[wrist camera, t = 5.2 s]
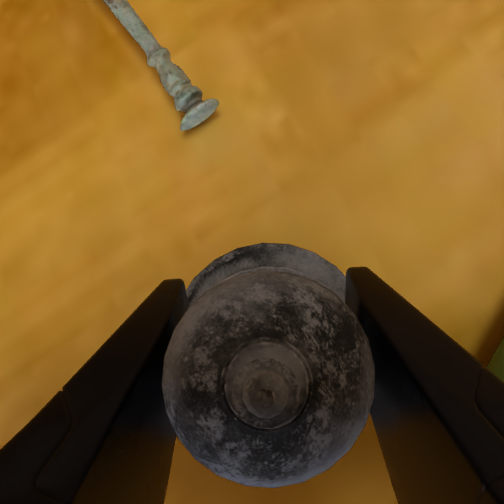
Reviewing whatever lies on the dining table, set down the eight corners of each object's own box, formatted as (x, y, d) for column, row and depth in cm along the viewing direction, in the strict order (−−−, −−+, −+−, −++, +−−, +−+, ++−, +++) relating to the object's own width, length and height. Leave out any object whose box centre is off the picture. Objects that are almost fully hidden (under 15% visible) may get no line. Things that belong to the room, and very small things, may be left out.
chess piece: (171, 288, 16) (-103, 211, 4) (318, 237, 16) (440, 23, 4) (220, 444, 15) (39, 880, 3) (376, 390, 15) (727, 638, 3)
